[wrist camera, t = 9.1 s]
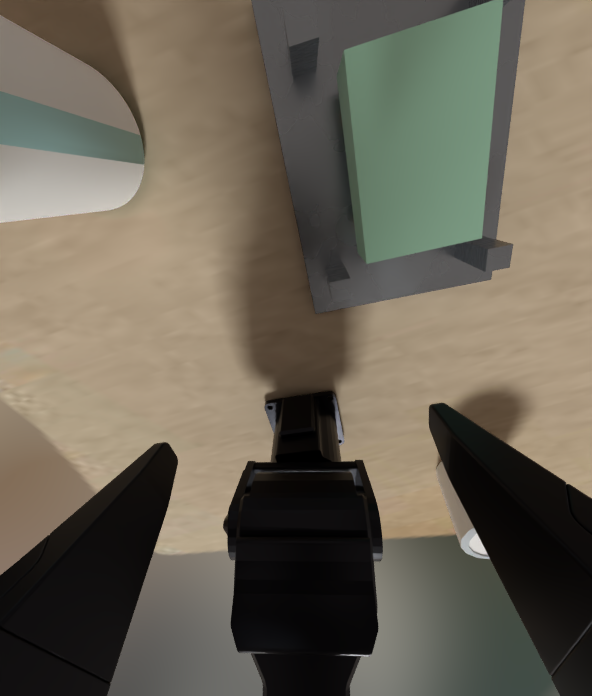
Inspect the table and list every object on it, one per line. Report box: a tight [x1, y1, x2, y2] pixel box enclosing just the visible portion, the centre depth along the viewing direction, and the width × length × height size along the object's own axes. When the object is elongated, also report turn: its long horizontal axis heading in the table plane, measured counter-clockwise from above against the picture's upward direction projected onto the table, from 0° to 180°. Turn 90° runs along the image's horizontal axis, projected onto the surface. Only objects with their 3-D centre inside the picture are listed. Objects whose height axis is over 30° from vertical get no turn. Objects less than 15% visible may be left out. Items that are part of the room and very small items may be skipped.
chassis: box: [251, 0, 525, 314], centre depth 14 cm, size 16×12×4 cm
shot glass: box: [436, 461, 490, 559], centre depth 26 cm, size 7×7×7 cm
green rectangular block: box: [337, 0, 503, 264], centre depth 13 cm, size 8×6×3 cm
